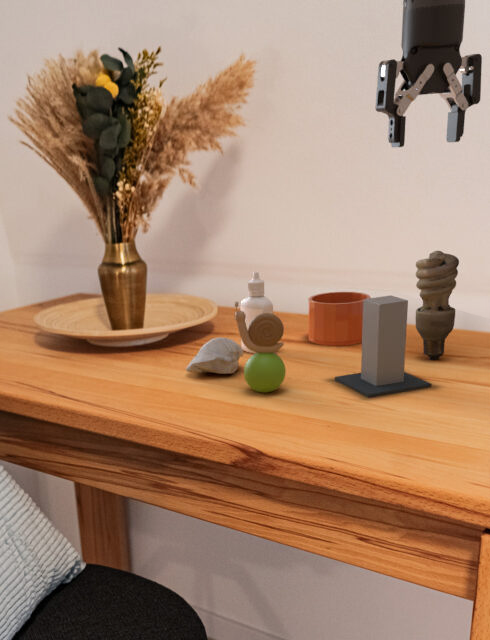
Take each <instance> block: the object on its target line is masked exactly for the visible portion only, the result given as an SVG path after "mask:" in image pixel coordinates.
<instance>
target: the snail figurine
mask: <svg viewBox="0 0 490 640" xmlns="http://www.w3.org/2000/svg"><path fill="white" fill-rule="evenodd" d="M234 307H235V313H234V317H235V318H234V319H235V321H236V325H237V330H238V333H239V337H240V340H241V339H242V341H243V343H244V345H245V346H246V347H247V348H248V349H250V350H252V351H254V352H256V353H253V354H252V355H250V357H249V358H248V359H247V361H246V362H245V365H244V368H243V377H244V381H245V382H246V384H247V385H248V387H249V388H250V389H252V390H253V391H254V392H257V393H263V394H265V393H271V392H274V391H276V390H277V389H278V388H279V387H280V386H282V384H283V383H284V380H285V377H286V374H287V373H286V372H287V371H286V366H285V362H284V361H283V359H282V358H281V356H279V354H277V353H276V352H278V351H279V350H280V349H282V347H283V346H284V345H285V344H284V341H283V342H282V341H281V339H282V338H283V336H284V331H285V329H284V323H283V322H282V320H281V319H280V317H279V316H277V315H276V314H274V313H273V314H270V313H263V314H260V315H258V316H256V317H255V318H254V319H253V320H252V321H251V323H250V325H249V328H248V330H247V327H246V323H245V318H246V315H245V313H244V312H243V311H240V310H238V309H237V308H238V307H239V302H238V301H235V302H234ZM280 341H281V342H280Z"/></svg>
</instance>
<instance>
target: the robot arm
mask: <svg viewBox="0 0 490 640" xmlns="http://www.w3.org/2000/svg"><path fill="white" fill-rule="evenodd" d="M465 13H466V0H402V25H401V26H402V27H401V44H400V45H401V46H400V47H401V51H402V56H401V58H400V60H396V59H388V60H387V59H386V60H381V62H379V64H378V72H377V84H376V95H375V111H376V112H378V113H382V114H385V115H386V116H387V117H388V133H387V135H388V136H387V140H388V143H390V146H391V148H404V146H405V141H406V139H405V138H406V122H407V121H406V120H407V119H406V118H407V116H406V115H404V114H405V113H406V111H407V110H408V108H409V107H410V105H411V104H412V102H414V101H415V100H416V98H418V96H423V95H435V94H436V95H437V94H438V95H439V97H440V98H442V99H443V100H444V101H445V103H446V105H447V106H448V108H449V110H450V111H449V112H447V125H446V139H445V140H446V142H447V143H459V142H461V141H460V140H461V138H463V135H464V131H465V130H464V129H465V119H466V111H467V109H468V108H470V107H472V106H474V105H479V103H480V101H481V95H482V91H481V90H482V65H483V63H482V62H483V57H482V55H481V54H480V53H473V54H471V53H470V54H467V55H464V56H462V55H461V51H460V48H461V45H462V43H463V39H464V28H465V27H464V26H465ZM459 72H460V73H461V83H460V81H459V79H458V77H457V74H458V73H459ZM399 75H401V77H402V79H403V80H402V83H401V84H400V86H399V87H398V89H397V91H396V81H397V80H396V79H397V78H398V77H399Z"/></svg>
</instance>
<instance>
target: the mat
mask: <svg viewBox="0 0 490 640" xmlns="http://www.w3.org/2000/svg"><path fill="white" fill-rule="evenodd" d="M334 381H335V382H337V383H339V384H341V385H342V386H344V387H346V388H349V389H350V390H352V391H354V392H356V393H357V394H359V395H362V396H364V397H366V398H367V399H370V398H376V397H383V396H388V395H389V396H390V395H395V394H401V393H406V392H412V391H413V392H414V391H418V390H423V389H428V388H429V389H430V388H432V383H431V382H430V381H429V382H428V381H426V380H424V379H422V378H419V377H417V376H415V375H412V374H411V373H408V372H406V371H404V382H399V383H393V384H387V385H381V386H375V385H373V384H371V383H369V382H367V381H364V380H362V379H361V372H357V373H351V374H345V375H344V374H343V375H339V376H334Z"/></svg>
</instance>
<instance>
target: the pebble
mask: <svg viewBox="0 0 490 640" xmlns="http://www.w3.org/2000/svg"><path fill="white" fill-rule="evenodd" d="M241 357H244V350H243V349H242V347H241V345H240V344H238V342H236V341H235V340H233V339H232V338H228V337H220V336H219V337H215V338H212V339H210V340H209V341H207V342H205V343H204V344H203V345H202V346H201V347H200V348H199V350H198V353H197V354H195V355H194V357H193V358H192V359H191V361H190V362H189V364H187V366H186V368H185V369H186V372H187V373H215V374H221V375H222V374H224V375H225V374H234V373H235V372H236V371H237V370H238V368H239V366H240V365H239V360H240V358H241Z"/></svg>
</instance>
